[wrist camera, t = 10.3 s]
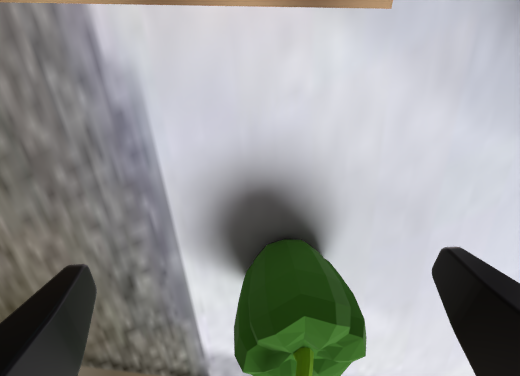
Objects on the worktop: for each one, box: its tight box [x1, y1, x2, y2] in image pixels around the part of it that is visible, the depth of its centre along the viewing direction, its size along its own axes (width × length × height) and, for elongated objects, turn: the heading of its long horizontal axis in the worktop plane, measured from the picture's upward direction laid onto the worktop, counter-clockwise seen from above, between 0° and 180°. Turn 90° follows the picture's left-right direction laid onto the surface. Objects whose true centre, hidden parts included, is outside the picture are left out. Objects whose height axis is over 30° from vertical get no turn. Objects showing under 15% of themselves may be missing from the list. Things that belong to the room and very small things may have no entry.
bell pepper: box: [234, 239, 366, 376], centre depth 22 cm, size 8×8×10 cm
